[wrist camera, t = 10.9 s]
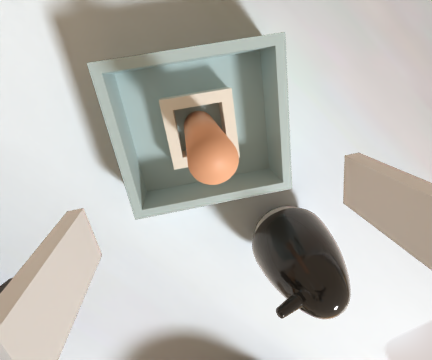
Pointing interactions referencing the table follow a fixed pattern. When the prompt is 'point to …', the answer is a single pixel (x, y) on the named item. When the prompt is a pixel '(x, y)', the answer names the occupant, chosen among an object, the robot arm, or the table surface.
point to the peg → (209, 150)
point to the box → (189, 102)
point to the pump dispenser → (302, 262)
